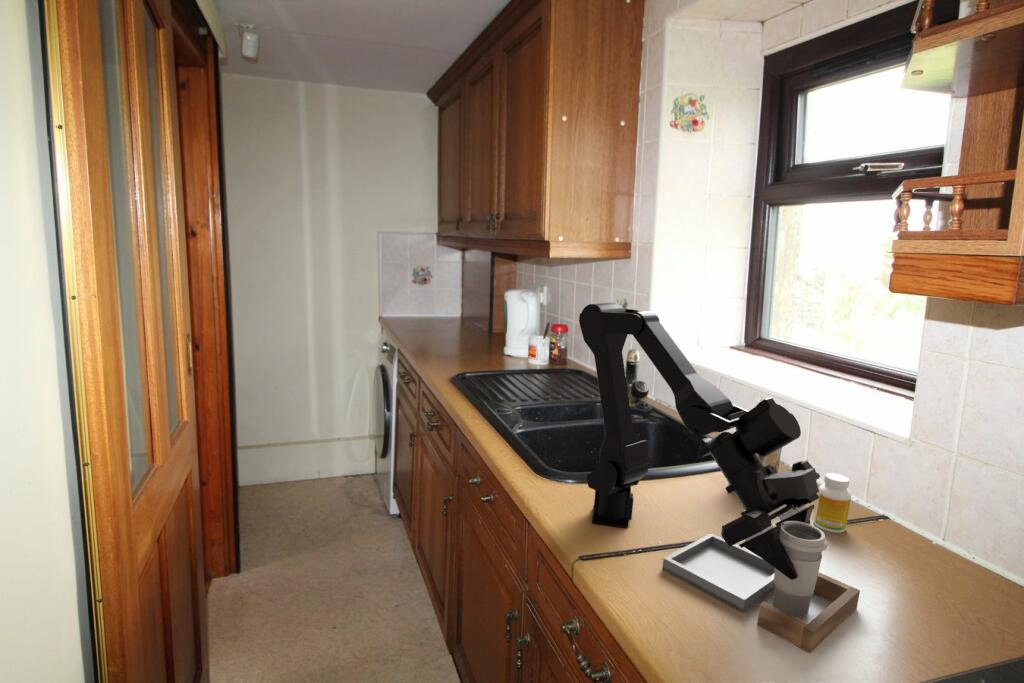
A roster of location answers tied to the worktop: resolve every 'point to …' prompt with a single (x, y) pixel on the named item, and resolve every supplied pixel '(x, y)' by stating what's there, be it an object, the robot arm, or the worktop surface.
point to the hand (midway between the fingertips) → (806, 570)
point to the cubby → (822, 624)
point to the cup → (799, 567)
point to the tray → (722, 571)
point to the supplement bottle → (833, 504)
